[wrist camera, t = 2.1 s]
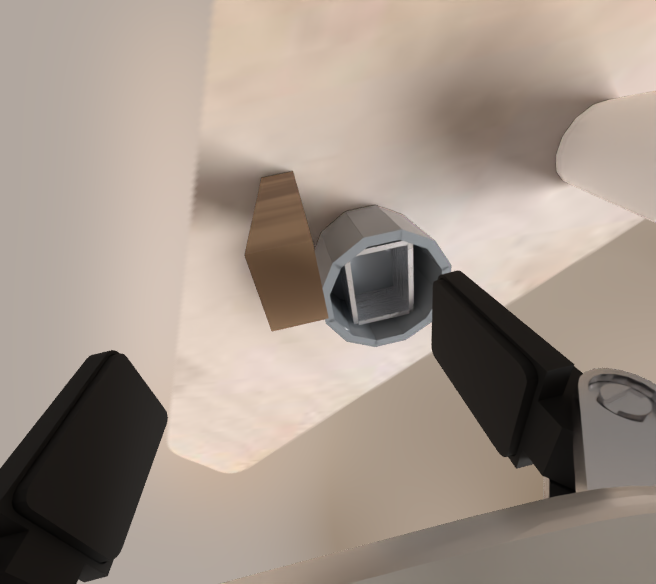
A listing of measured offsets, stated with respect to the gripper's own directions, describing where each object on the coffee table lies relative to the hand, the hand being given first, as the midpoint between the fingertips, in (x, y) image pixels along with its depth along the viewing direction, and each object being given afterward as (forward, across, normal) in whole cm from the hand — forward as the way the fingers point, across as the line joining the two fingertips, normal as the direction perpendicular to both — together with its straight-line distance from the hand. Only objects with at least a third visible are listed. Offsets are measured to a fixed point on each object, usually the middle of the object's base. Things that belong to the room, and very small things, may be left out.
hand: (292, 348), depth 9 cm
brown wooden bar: (+17, 0, -1) cm, 17 cm away
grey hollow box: (+17, -6, +6) cm, 19 cm away
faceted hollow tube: (+17, -6, +6) cm, 19 cm away
